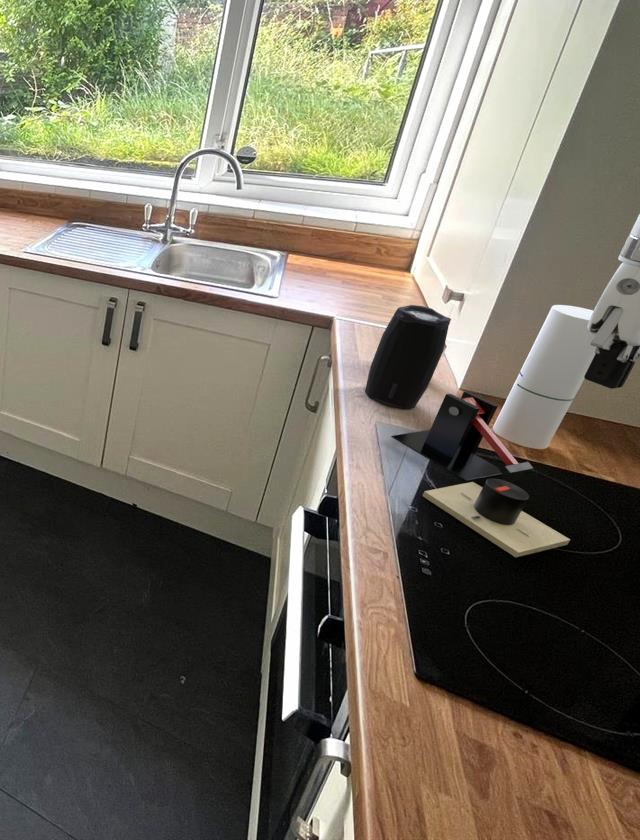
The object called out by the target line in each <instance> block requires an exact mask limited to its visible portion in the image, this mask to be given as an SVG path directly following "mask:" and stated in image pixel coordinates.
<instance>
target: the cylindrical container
mask: <svg viewBox="0 0 640 840" xmlns="http://www.w3.org/2000/svg"><path fill="white" fill-rule="evenodd" d="M593 311H594V309H588V308H586V307H585V308H584V307H581V306H580V307H579V306H575V305H567V304H566V305H565V304H553V305H552V306H551V307H550V309H549V312H548V314H547V316H546V318H545V320H544V322H543V324H542V326H541V328H540V330H539V333H538V334H537V336H536V339H534V340H535V341H534V342H533V344H532V347H531V349H530V350H529V353H528V355H527V357H526V359H525V360H524V363H523V364H522V367H521V369H520V371H519V373H518V374H517V377H516V380H515V381H514V383H513V386H512V388H511V389H510V391H509V393H508V395H507V398H506V400H505V402H504V403H503V406H502V408H501V410H500V412H499V414H498V416H497V418H496V420H495V422H494V424H493V426H492V432H493V433H494V434H495V435H497V436H499V437H501V438H503V439H504V440H506V441H508V442H511V443H513V444H516V445H518V446H521V447H525V448H529V449H533V450H545V449H547V448H549V446H550V443H551V442H552V441H553V438H554V436H555V434H556V432H557V431H558V429H559V427H560V425H561V423H562V422H563V419H564V418H565V416H566V414H567V412H568V410H569V408H570V406H571V404H572V403H573V401H574V399H575V397H576V395H577V394H578V391H579V390H580V388H581V386H582V385H583V383H584V380H586V379H585V378H584V376H585V374H586V372H587V370H588V368H589V366H590V364H591V362H592V360H593V358H594V356H595V350H596V346H593V345H591V341H592V340H593V338H594V337H595V335H596V334H593V333H591V332H590V331H589V330H588V328H587V326H588V323H589V320H590V318H591V315H592V313H593Z"/></svg>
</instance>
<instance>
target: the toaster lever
mask: <svg viewBox="0 0 640 840" xmlns="http://www.w3.org/2000/svg"><path fill="white" fill-rule="evenodd" d="M462 400H464V401H467V402H469V403H471V404H473V405H475V406H477V407H479V408H480V409H479V411H478V413H477V416H476V418H475V420H474V422H473V425H474V426H475V427H476V428H477V430H478V431H479V432H480V433H481V435H482V436H483V439H485V441H486V442H487V443H488V444H489V446H490V447H491V448H492V449H493V451H494V452H495V453H496V454H497V456H498V457H499V458H500V459H501V461H502V462H503V463H504V466H502V467H498V468H499V470H500V472H501V473H502V475H503V476H509V475H513V474H520V473H524V472H528V471H531V470H533V469H534V466H532V465H531V463H530V462H529V461H523V462H518V461H517V459H516V458H515V457H514V456H513V454H512V453H511V452H510V451H509V450H508V449H507V447H506V446H505V445H504V444H503V442H501V440H500V439H499V437H498V436H497V434H496V433H495V432H494V431H493V429H491V428H490V427H489V426H487V424H486V423H485V422H484V421H483V420H482V418H481V417H480V415H482V414H484V413H485V412H484V410H483V409H482V408H481V407H480V406H479V404H478V403H477V402H476V401H475V400H474V398H473V397H471V398H464V399H462Z"/></svg>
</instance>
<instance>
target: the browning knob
mask: <svg viewBox="0 0 640 840" xmlns="http://www.w3.org/2000/svg"><path fill="white" fill-rule="evenodd" d="M482 487H483V488H482V490H481V492H480V494H479V496H478V498H477V500H476V502H475V504H474V508H475V510H476V511H477V512H478V513H479V514H481V515H482V516H484V517H485V518H487V519H489V520H491V521H494V522H496V523H499V524H504V525H513V524H515V522H516V520H517V518H518V517H519V515H520V513H521V511H523V509H524V507H525V505H526V504H527V502H528V500H529V498H530V495H529V494H528V492H527V491H525V490H524V489H523V488H521V487H520V486H518V485H516V484H514V483H512V482H510V481H506V480H504V479H500V478H487V479H486V481H485V482H484V484H483V486H482Z"/></svg>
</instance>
